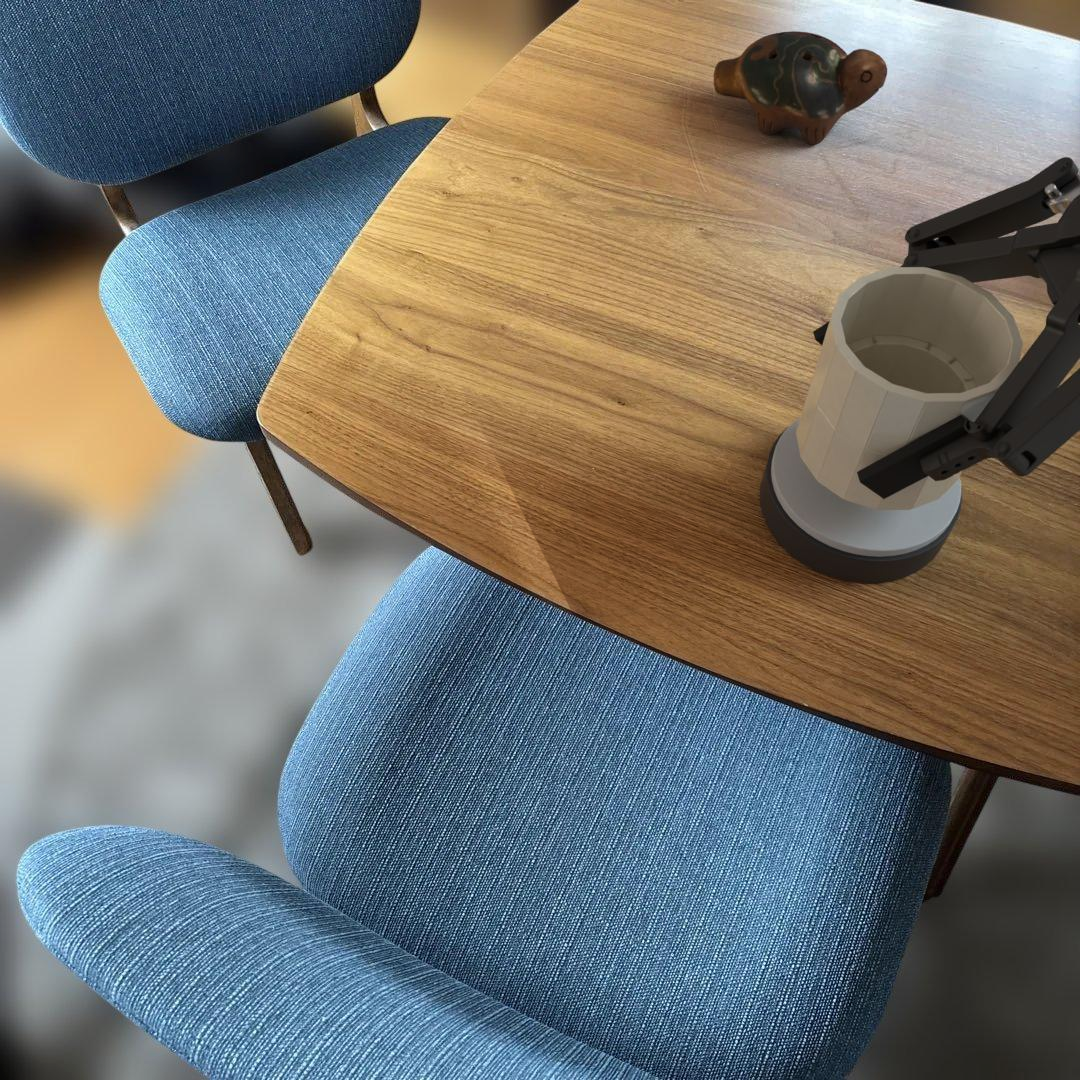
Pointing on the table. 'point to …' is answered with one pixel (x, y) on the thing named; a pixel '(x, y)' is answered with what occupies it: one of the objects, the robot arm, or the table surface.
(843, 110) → the decorative turtle
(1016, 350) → the faceted beige cup
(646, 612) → the table surface
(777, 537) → the scale
